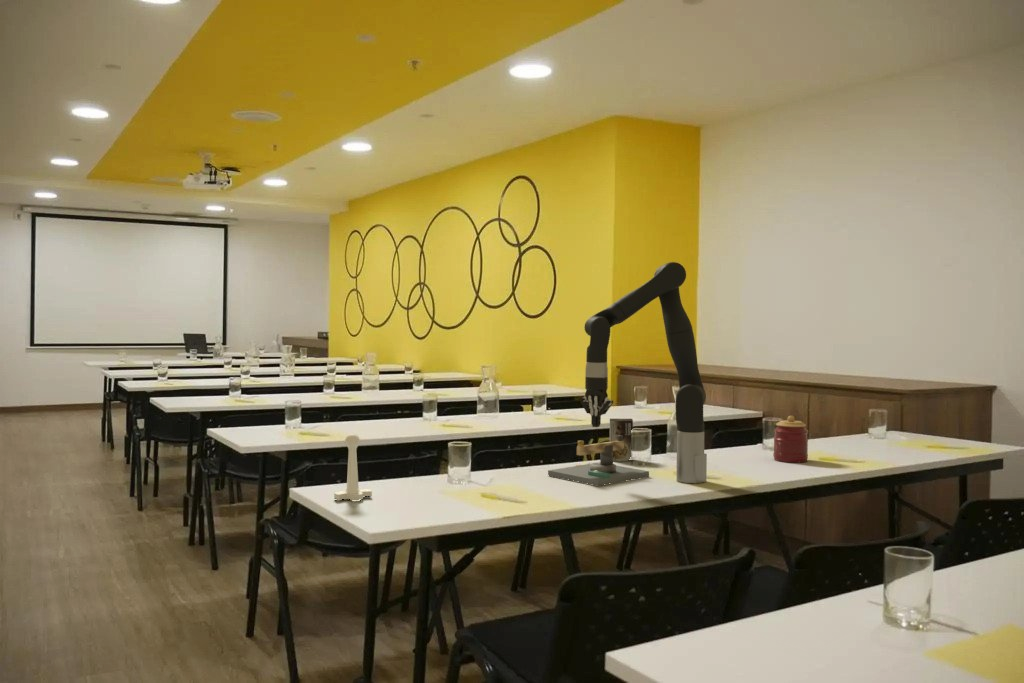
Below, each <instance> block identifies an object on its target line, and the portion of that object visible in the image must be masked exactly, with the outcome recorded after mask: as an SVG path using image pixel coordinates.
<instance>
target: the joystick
mask: <svg viewBox="0 0 1024 683" xmlns="http://www.w3.org/2000/svg"><path fill="white" fill-rule="evenodd" d="M360 439H361V438H360V437H359V436H358V435H357V434H356V433H355V434H354V433H349V434H348V435H346V438H345V440H344V443H345V445H346V447H347V449H348V453H347V454H348V455H347V457H348V458H347V475H346V476H347V478H346V490H341V491H335V492H334V493H333V494H334V495H333V500H334V499H337V500H336V501H343V500H342V499H344V500H349V499H350V500H349V501H351V500H359V499H364V497H363V496H372V497H373V491H372V490H371V489H369V488H366V489H363V488H362V489H361V488H359V472H358V457H357V454H358V453H357V450H358V447H359V445H360V443H361V440H360Z"/></svg>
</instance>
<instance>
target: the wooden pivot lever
mask: <svg viewBox="0 0 1024 683" xmlns="http://www.w3.org/2000/svg"><path fill="white" fill-rule="evenodd" d="M622 449H624V441H623V436H622V435H618V436H617V441H611V442H610V441H605V442H598V443H597V442H596V443H591V444H585V441H584V440H577V446H576V456H580V457H581V456H587V455H592V454H593V455H594V454H600V460H599V462H600V463H598V462H592V463H593V464H592V463H589V464H590V471H595V470H597V471H599V472H604V473H613V472H616V465H617V464H615V463H614V461H613V451H615V450H622Z"/></svg>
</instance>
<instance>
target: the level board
mask: <svg viewBox="0 0 1024 683" xmlns="http://www.w3.org/2000/svg"><path fill="white" fill-rule="evenodd" d="M593 463H594V462H592V463H588V464H587V463H586V464H576V465H574V466H568V467H562V468H554V469H549V470H547V476H548V475H549V476H548V477H550V476H554V477H553V478H555V477H559V478H558V479H560V478H564V479H563V480H565V479H569V480H574V481H579V482H583V483H582V484H584V483H588V484H587V485H589V484H593V485H603V486H605V485H604V484H608V485H610V484H609V483H614V484H616V483H615V482H619V483H622V482H621V481H625V482H627V481H626V480H630V481H632V480H631V479H635V480H639V478H641V479H644V478H649V477H650V471H649V470H644V469H639V468H632V467H627V466H621V465H617V464H615V465H616V472H613V473H604V472H599V471H597V470H595V471H590V464H593ZM597 463H600V461H598V462H597ZM569 480H568V481H569ZM574 481H573V482H574ZM579 482H578V483H579ZM593 485H592V486H593Z"/></svg>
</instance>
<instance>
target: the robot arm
mask: <svg viewBox="0 0 1024 683" xmlns="http://www.w3.org/2000/svg"><path fill="white" fill-rule="evenodd" d="M686 279H687V271H686V268H685V267H684V266H683V265H682V263H679V262H676V261H671V262H666V263H664V264H662V265H661V266H659V267H658V268H657V269H656V270H655V271H654V274H653V277H652V278H651V279H650V280H648V281H646V282H644V284H642V285H641V286H639V287H637V288H635V289H633V290H632V291H630V292H628V293H626V294H625V295H624V296H621V297H620V298H618V299H617V300H616V301H615V302H613V303H612V304H610V305H609V306H608V307H606V308H605V309H603V310H600V311H599V312H597V313H595V314H593V315H592V316H590V317H589V318H588V319H587V320H586V321H585V323H584V326H583V327H584V332H585V333H586V334H587V336H589V337H590V338H589V339H590V340H589V344H588V346H587V348H586V360H585V361H586V364H585V376H584V377H585V378H584V379H585V383H584V384H585V386H584V388H585V393H584V396H583V397H580V398H579V402H580V404H581V405H582V407H583V410H584V411H585V412H586V414H589V415H590V418H591V419H590V422H591V426H592V427H593V428H600V426H601V419H602V418H601V417H602V416H603V415H605V414H607V412H608V411H609V410H610V408H611V407H612V406H613V404H614V400H612V399H610V398H609V397H608V396H609V395H608V393H607V391H608V386H609V385H608V382H609V381H608V377H609V376H608V375H609V371H608V370H609V368H608V349H609V348H608V347H609V343H610V339H611V338H610V337H611V328H612V327H614V326H615V325H619V324H621V323H624V322H625V321H626V320H628V319H629V318H630V317H632V316H634V315H635V314H636V313H638V312H639V311H640V310H641V309H643V308H644V307H645V306H647V305H648V304H649V303H651V302H652V301H654V300H655V299H657V298H658V299H659V302H660V306H661V313H662V319H663V324H664V331H665V337H666V341H667V347H668V350H669V354H670V356H671V360H672V361H673V364H674V366H675V370H676V372H677V378H678V386H679V387H678V388H679V389H678V391H677V392H676V394H675V395H676V396H675V422H676V481H677V482H679V483H686V484H701V483H706V482H707V470H708V469H707V464H708V462H707V460H708V458H707V453H705V428H706V427H705V421H704V404H705V403H706V401H707V400H706V399H707V397H706V390H705V387H704V385H703V381H702V378H701V374H700V371H699V366H698V364H699V363H698V354H697V347H696V341H695V340H696V339H695V335H694V331H693V330H694V329H693V325H692V322H691V320H690V319H689V316H688V314H687V312H686V311H685V308H684V306H683V304H682V300H681V299H682V298H681V292H680V287H681V286H683V284H684V282H685V281H686Z"/></svg>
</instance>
